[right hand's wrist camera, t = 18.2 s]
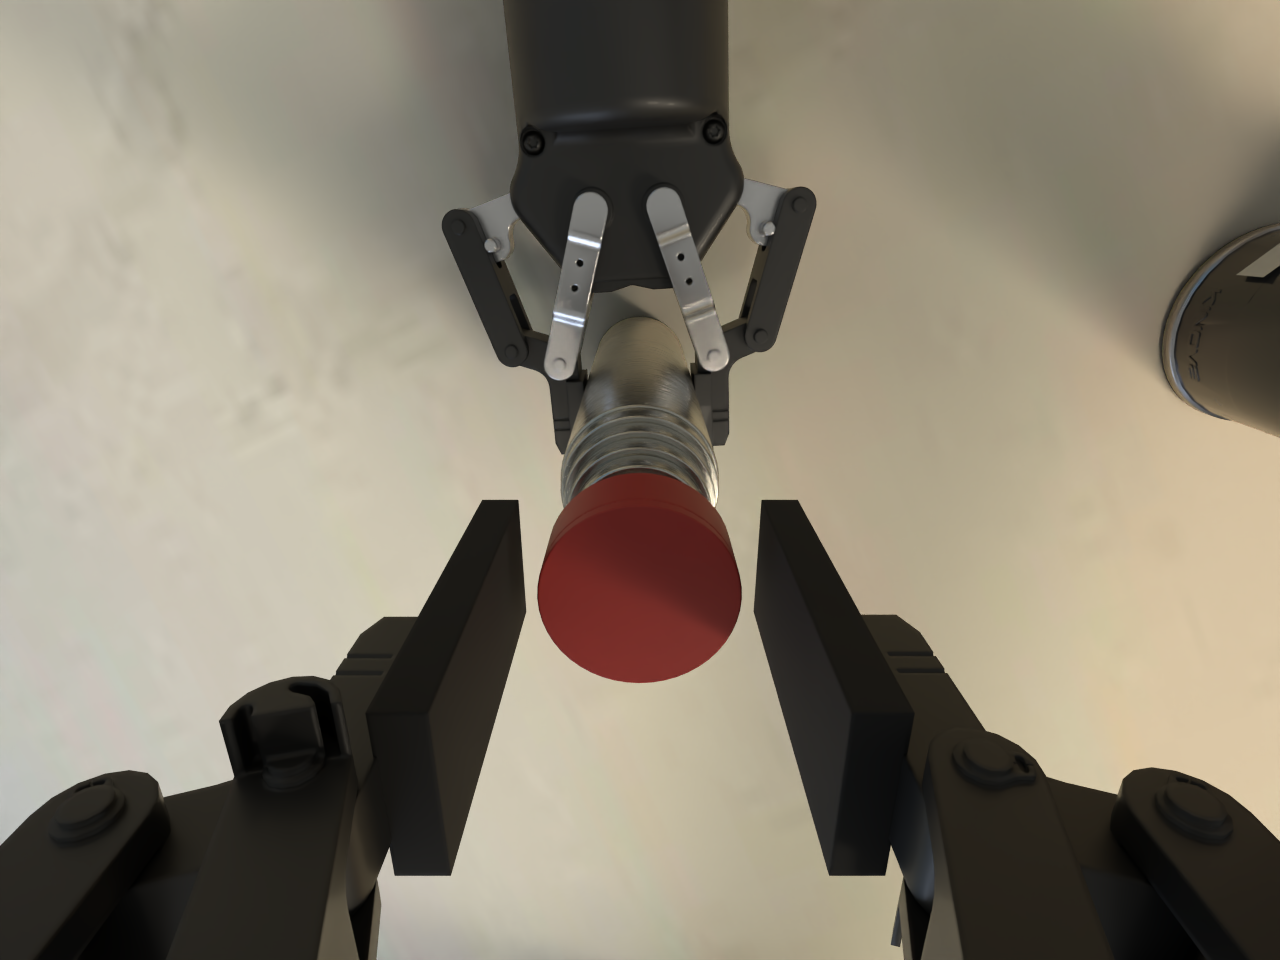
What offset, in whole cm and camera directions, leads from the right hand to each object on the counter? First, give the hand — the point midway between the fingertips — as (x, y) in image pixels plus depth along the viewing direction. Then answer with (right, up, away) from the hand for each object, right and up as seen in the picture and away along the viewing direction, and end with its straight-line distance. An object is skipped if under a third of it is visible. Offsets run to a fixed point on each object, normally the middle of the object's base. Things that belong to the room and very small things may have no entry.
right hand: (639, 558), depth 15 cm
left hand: (0, +3, +14) cm, 15 cm away
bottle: (0, +8, +20) cm, 21 cm away
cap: (0, -1, -1) cm, 1 cm away
